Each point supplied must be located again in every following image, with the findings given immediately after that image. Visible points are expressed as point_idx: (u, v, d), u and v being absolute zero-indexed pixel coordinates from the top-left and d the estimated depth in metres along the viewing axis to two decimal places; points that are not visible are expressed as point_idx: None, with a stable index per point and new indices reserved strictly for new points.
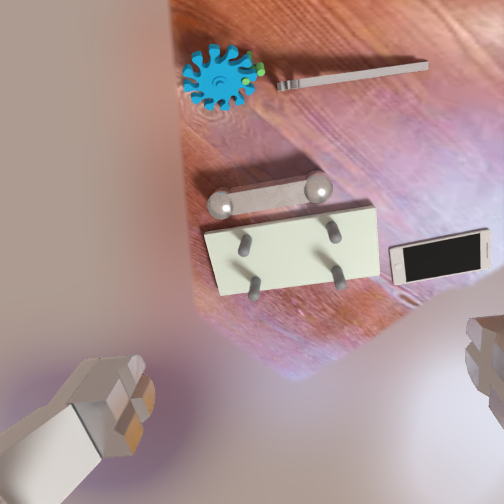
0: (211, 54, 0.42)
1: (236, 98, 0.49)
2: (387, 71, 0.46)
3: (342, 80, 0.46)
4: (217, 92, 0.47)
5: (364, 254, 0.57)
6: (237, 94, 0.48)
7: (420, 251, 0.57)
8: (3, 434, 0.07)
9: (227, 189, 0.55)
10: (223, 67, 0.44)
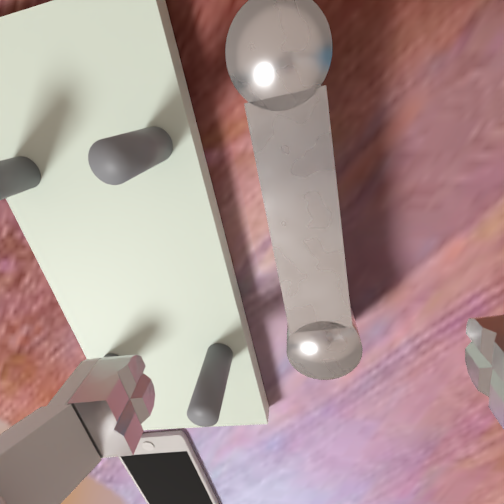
0: None
1: None
2: None
3: None
4: None
5: (163, 408, 0.27)
6: None
7: (184, 471, 0.31)
8: (3, 434, 0.07)
9: None
10: None
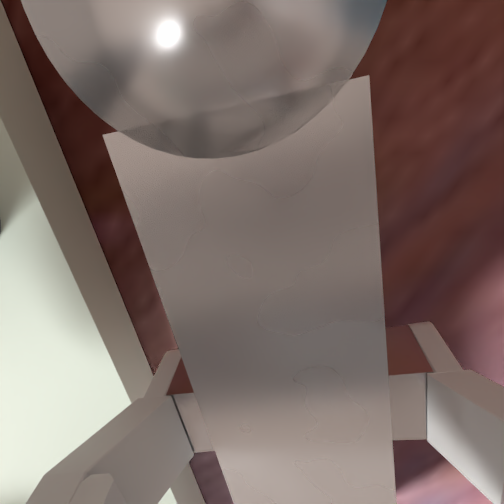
0: None
1: None
2: None
3: None
4: None
5: None
6: None
7: None
8: (107, 426, 0.07)
9: None
10: None
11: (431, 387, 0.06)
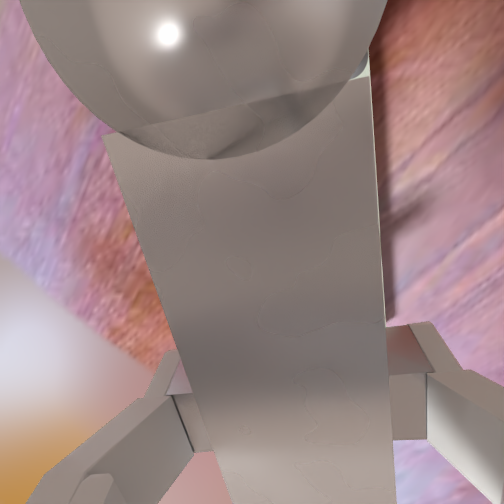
0: None
1: None
2: None
3: None
4: None
5: None
6: None
7: None
8: (107, 426, 0.07)
9: None
10: None
11: (431, 387, 0.06)
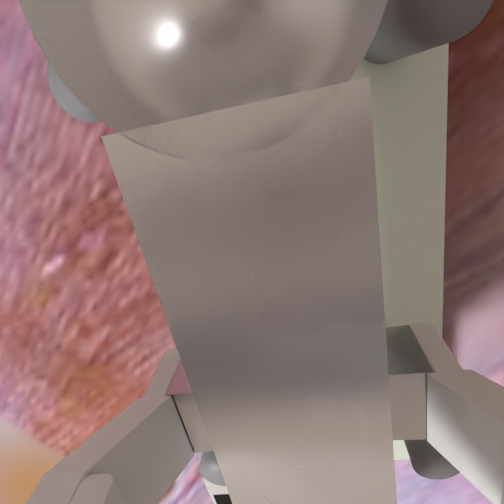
0: None
1: None
2: None
3: None
4: None
5: None
6: None
7: None
8: (107, 426, 0.07)
9: None
10: None
11: (431, 387, 0.06)
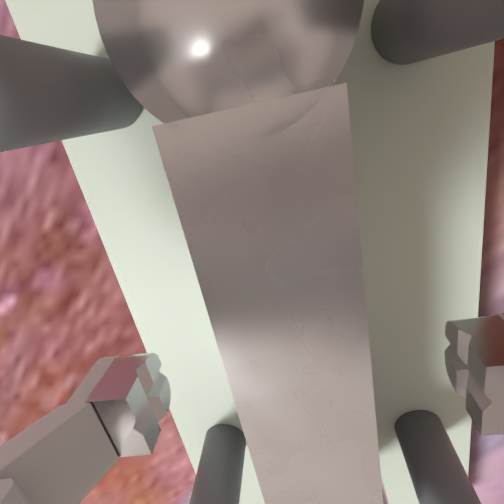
0: None
1: None
2: None
3: None
4: None
5: None
6: None
7: None
8: (23, 432, 0.07)
9: None
10: None
11: None
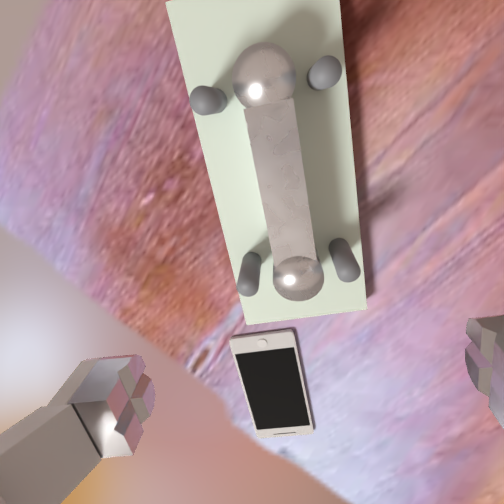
0: None
1: None
2: None
3: None
4: None
5: (284, 300, 0.34)
6: None
7: (287, 367, 0.38)
8: (3, 434, 0.07)
9: None
10: None
11: None
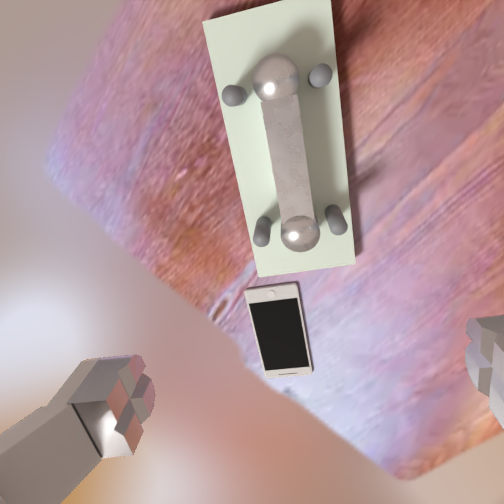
0: None
1: None
2: None
3: None
4: None
5: (289, 256, 0.42)
6: None
7: (291, 315, 0.47)
8: (3, 434, 0.07)
9: None
10: None
11: None
